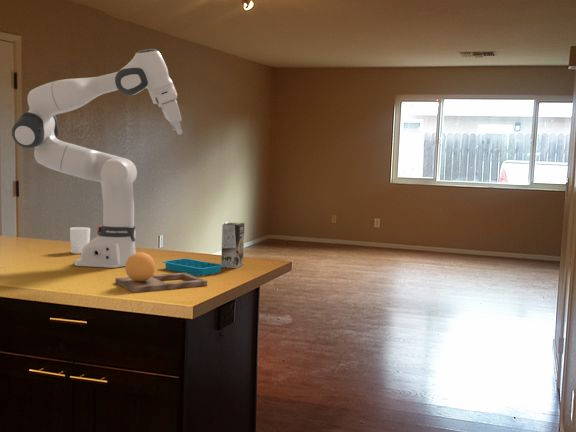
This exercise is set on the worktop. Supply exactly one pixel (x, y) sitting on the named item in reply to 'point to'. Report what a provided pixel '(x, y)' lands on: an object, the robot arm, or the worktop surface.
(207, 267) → the ice cube tray
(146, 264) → the ball
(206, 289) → the worktop surface
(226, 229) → the coffee box
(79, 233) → the white cup
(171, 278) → the walnut board
